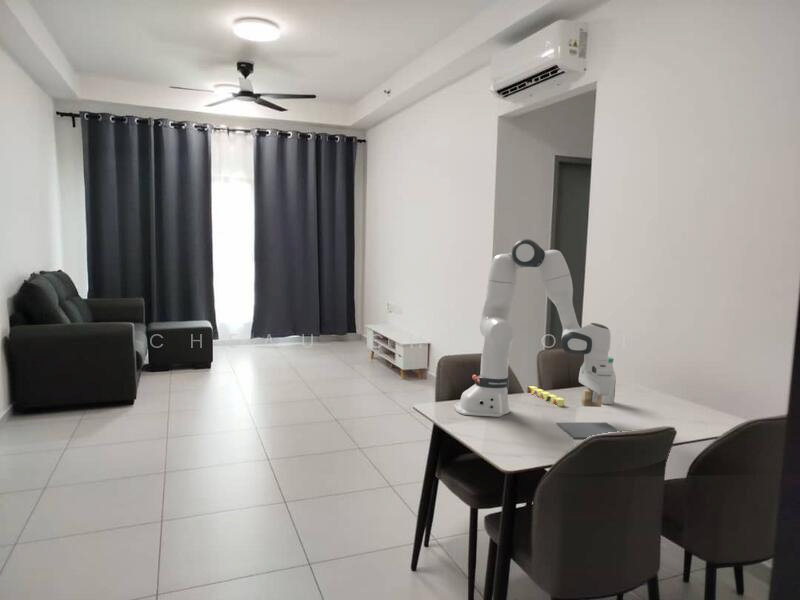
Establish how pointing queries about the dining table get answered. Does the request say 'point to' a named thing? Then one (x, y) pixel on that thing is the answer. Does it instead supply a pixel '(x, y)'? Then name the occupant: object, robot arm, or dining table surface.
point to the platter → (546, 395)
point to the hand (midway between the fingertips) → (591, 400)
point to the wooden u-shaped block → (587, 399)
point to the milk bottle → (611, 396)
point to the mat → (586, 429)
